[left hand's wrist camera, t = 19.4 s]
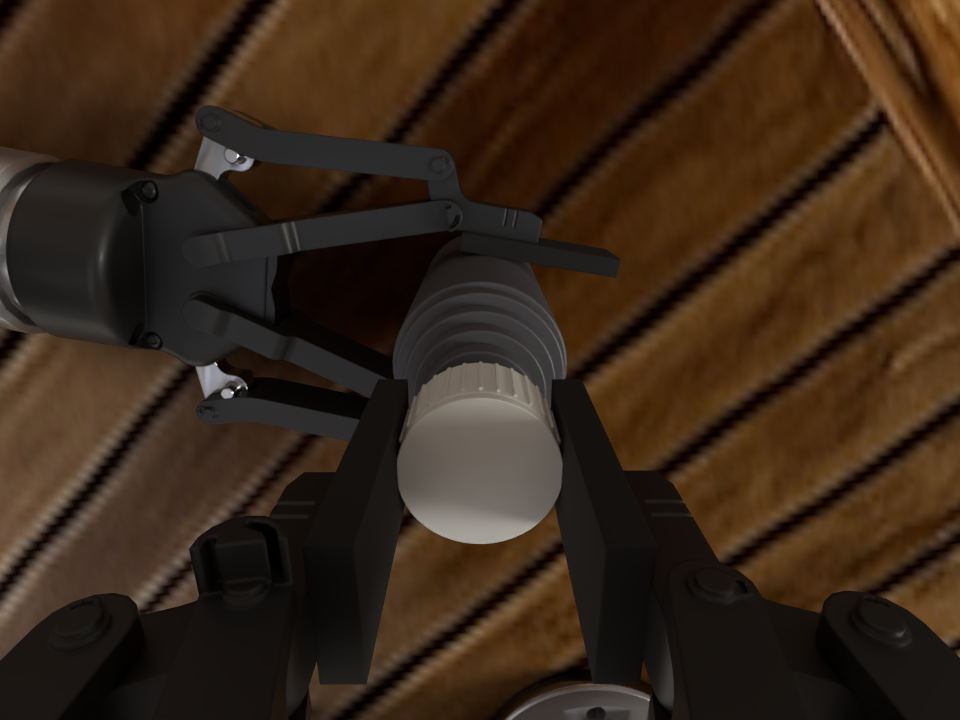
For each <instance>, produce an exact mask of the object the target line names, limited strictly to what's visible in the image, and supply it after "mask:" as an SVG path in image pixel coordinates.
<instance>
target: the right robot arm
mask: <svg viewBox="0 0 960 720" xmlns="http://www.w3.org/2000/svg"><path fill="white" fill-rule="evenodd" d="M195 122H196V125H197V129H198V130H199V131H200V133H201V134H202V135H203V136H204V137H203V141H202V144H201V147H200V151H199V154H198V158H197V161H196V164H195V168H194V169H189V170H184V171H181V172H179V173H176V174H174V175H163V174H157V173H151V172H146V171H140V170H134V169H128V168H123V167H117V166H111V165H105V164H99V163H94V162H88V161H82V160H73V159H72V160H61V159H59V158H57V157H55V156H52V155H48V154H42V153H36V152H30V151H24V150H18V149H12V148H6V147H0V328H3V329H9V330H15V331H20V332H26V333H49V334H51V335H54V336H57V337H63V338H69V339H76V340H82V341H88V342H95V343H101V344H107V345H114V346H120V347H127V348H135V349H149V350H160V351H164V352H166V353H169V354H171V355H173V356H175V357H176V358H178V359H179V360H181V361H182V362H184V363H186V364H188V365H191V366H195V367H196V371H197V374H198V377H199V380H200V383H201V387H202V390H203V393H204V396H205V399H204V400H203V401H202V402H201V403H200V404H199V405H198V407H197V409H196V410H197V415H198V417H199V419H200V420H202V421H203V422H204V423H207V424H211V425H215V424H224V423H234V422H243V421H253V422H258V423H263V424H267V425H272V426H277V427H282V428H287V429H292V430H297V431H301V432H306V433H311V434H316V435H321V436H326V437H331V438H335V439H340V440H345V441H350V440H351V438H352V436H353V433H354V431H355V429H356V427H357V425H358V423H359V420H360V418H361V416H362V414H363V412H364V409H365V407H366V405H367V403H368V401H369V398H370V396H371V394H372V392H373V390H374V388H375V385H376V383H377V381H378V379H394V374H393V362H392V361H393V359H392V358H390V357H388V356H385V355H383V354H381V353H379V352H377V351H375V350H373V349H370V348H368V347H366V346H364V345H362V344H360V343H358V342H355V341H353V340H351V339H349V338H347V337H345V336H343V335H340V334H338V333H336V332H334V331H332V330H330V329H328V328H325V327H323V326H321V325H319V324H317V323H315V322H313V321H312V320H311V319H310V317H309V316H308V315H306V314H304V313H302V312H300V311H298V310H296V309H294V308H292V307H290V294H289V289H288V284H287V276H288V273H289V270H290V267H291V265H292V255H293V253H295V252H299V251H305V250H312V249H319V248H326V247H334V246H341V245H348V244H355V243H362V242H370V241H377V240H384V239H391V238H398V237H406V236H413V235H420V234H427V233H434V232H442V231H449V233H450V232H453V231H455V230H457V231H463V232H462V239H461V245H460V251H462V252H468V253H474V254H479V255H485V256H491V257H497V258H503V259H509V260H515V261H520V262H526V263H532V264H538V265H544V266H550V267H556V268H562V269H567V270H573V271H579V272H585V273H591V274H597V275H603V276H608V277H614V278H616V276H617V272H618V268H619V264H620V259H619V258H618V257H616V256H615V255H613V254H612V253H611V252H609V251H608V250H606V249H601V248H595V247H589V246H584V245H578V244H572V243H566V242H560V241H555V240H549V239H543V238H539V234H540V229H541V224H542V219H541V218H540V217H539V216H537V215H536V214H534V213H533V212H531V211H530V210H527V209H521V208H515V207H510V206H504V205H498V204H493V203H487V202H481V201H476V200H472V199H470V198H468V197H467V196H466V195H465V194H464V193H463V191H462V190H461V187H460V183H459V178H458V172H457V167H456V160H455V158H454V156H453V155H452V154H451V153H450V152H449V151H446V150H444V149H438V148H430V147H421V146H412V145H403V144H394V143H385V142H376V141H367V140H358V139H350V138H341V137H332V136H323V135H314V134H305V133H296V132H287V131H279V130H277V129H275V128H273V127H271V126H269V125H267V124H265V123H263V122H261V121H259V120H257V119H255V118H253V117H251V116H249V115H247V114H245V113H243V112H240V111H236V110H231V109H226V108H221V107H216V106H211V105H209V106H204V107H202V108H201V109H199V111H198V112H197V114H196V121H195ZM262 161H263V162H269V163H275V164H284V165H294V166H303V167H312V168H321V169H330V170H339V171H348V172H357V173H366V174H375V175H384V176H393V177H402V178H411V179H420V180H427V183H428V188H429V193H430V198H429V199H422V200H415V201H408V202H401V203H394V204H386V205H379V206H372V207H365V208H358V209H351V210H344V211H337V212H330V213H323V214H316V215H305V216H297V217H290V218H283V219H276V220H271V219H270V218H269V217H268V216H267V215H266V214H265V213H264V212H262V211H261V210H260V209H259V208H258V207H257V206H256V205H255V204H254V203H253V202H252V201H251V200H250V199H248V198H247V197H246V196H245V195H244V194H243V193H242V192H241V191H240V190H239V189H238V188H237V187H235V186H234V185H233V184H232V183H231V182H230V181H229V180H228V177H229V175H230V174H231V173H232V172H233V171H253V170H255V169H257V168H258V167H259V166H260V164H261V163H262ZM244 348H248V349H250V350H252V351H254V352H257V353H259V354H261V355H263V356H266V357H268V358H270V359H273V360H286V361H289V362H292V363H294V364H296V365H298V366H300V367H303V368H305V369H307V370H309V371H312V372H314V373H316V374H318V375H320V376H323V377H325V378H327V379H329V380H331V381H334V382H336V383H338V384H340V385H343V386H345V387H347V388H349V389H351V390H354V391H356V392H358V393H360V394H362V395H365V396H367V397H369V398H366V397H362V396H357V395H352V394H348V393H343V392H338V391H333V390H329V389H324V388H319V387H315V386H310V385H305V384H301V383H296V382H291V381H286V380H282V379H276V378H265V377H259V378H253V377H254V374H253V372H252V371H251V370H249V369H241V368H235V367H233V366H231V365H230V364H229V363H228V362H227V361H226V359H225V358H226V357H228V356H230V355H232V354H234V353H236V352H238V351H240V350H242V349H244Z"/></svg>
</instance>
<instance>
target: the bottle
mask: <svg viewBox="0 0 960 720" xmlns="http://www.w3.org/2000/svg"><path fill="white" fill-rule="evenodd" d="M461 239H462V235H461V236H459V237H456V238H454V239H453V240H451V241H449V242H448V243H447V244H445V245H444V246H443V247H442V248H441V249H440V250H439V251H438V253H437V254H436V255H435V257H434V258H433V260H432V262H431V264H430V266H429V268H428V270H427V273H426V275H425V277H424V279H423V281H422V283H421V286H420V288H419V290H418V292H417V294H416V296H415V298H414V301H413V303H412V305H411V307H410V309H409V311H408V313H407V316H406V318H405V320H404V322H403V324H402V326H401V328H400V331H399V333H398V336H397V338H396V342H395V346H394V350H393V361H392V362H393V374H394V379H408V396H409V409H410V407H411V404H412V400H413V397H414V396H417V395H418V393H419V392H420V391H421V388H422V385H423V384H425V385H426V384H427V383H428V382H429V381H430V380H431V379H433V376H434V375H438V374H440V373H442V372H444V371H446V370H447V368H449V367H450V368H453V367H456V366H459V365H463V363H466V364H469V363H479V362H482V363H490V364H495V363H497V364H499V365H500V366H504V367H507V368H509V369H510V368H513V369H514V371H516V372H518V373H519V374H521V375H523V376H527V377H528V380H529V381H531V382H532V383H533V384H534V385H535V386H536V385H537V386H538V387H539V390H540V393H541V394H542V395H543V397H544V398H545V397H546V398H547V400H548V404H549V407H550V409H551V388H552V379H565V378H566V372H567V354H566V348H565V343H564V340H563V337H562V334H561V332H560V329H559V327H558V325H557V323H556V321H555V318H554V316H553V314H552V312H551V310H550V308H549V306H548V303H547V301H546V299H545V297H544V295H543V293H542V290H541V288H540V286H539V284H538V282H537V280H536V278H535V275H534V273H533V271H532V269H531V267H530V265H529V263H526V262H520V261H515V260H509V259H503V258H497V257H491V256H485V255H479V254H474V253H468V252H462V251H460V245H461Z"/></svg>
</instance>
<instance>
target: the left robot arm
mask: <svg viewBox="0 0 960 720" xmlns="http://www.w3.org/2000/svg"><path fill="white" fill-rule="evenodd" d="M408 409H409V396H408V379H378V381H377V383H376V385H375V388H374V390H373V392H372V394H371V396H370V398H369V401H368V403H367V405H366V407H365V409H364V412H363V414H362V416H361V418H360V420H359V423H358V425H357V427H356V429H355V431H354V433H353V436H352V438H351V440H350V442H349V444H348V447H347V449H346V451H345V453H344V455H343V458H342V460H341V462H340V464H339V466H338V468H337V471H336V472H304V473H303V474H302V475H300V476H299V477H298V478H297V479H295V480H294V481H293V482H291V483H290V484H289V485H287V486H286V488H285V490H284V491H283V493H282V495H281V496H280V498H279V500H278V502H277V505H275V507H274V508H273V510H272V512H271V513H270V515H269V517H266V516H245V517H240V518H235V519H231V520H228V521H225V522H223V523H221V524H218V525H216V526H214V527H212V528H210V529H209V530H208V531H206V532H205V533H203V534H202V535H201V536H199V537H198V538H197V539H196V541H195V542H194V543H193V545H192V546H191V547H190V549H189V550H190V555H191V560H192V564H193V569H194V573H195V578H196V583H197V587H198V592H199V598H198V600H197V601H195V602H192V603H188V604H185V605H182V606H179V607H174V608H170V609H166V610H162V611H157V612H153V613H149V614H144V615H140V616H139V612H138V609H137V605H136V603H135V602H134V601H133V600H132V599H131V598H130V597H129V596H125V595H120V594H116V593H109V594H99V595H93V596H90V597H87V598H84V599H81V600H77V601H74V602H72V603H70V604H68V605H66V606H65V607H63V608H61V609H59V610H57V611H55V612H53V613H52V614H50V615H49V616H48V617H47V618H45V619H44V620H43V621H42V622H40V623H39V624H38V625H36V626H35V627H34V628H33V629H32V630H31V631H30V632H29V633H28V634H27V635H26V636H25V637H24V638H23V639H22V640H21V641H20V642H19V643H18V644H17V645H16V646H15V647H14V648H13V649H12V650H11V651H10V652H9V653H8V654H7V655H6V656H5V657H4V658H3V659H2V660H1V661H0V720H311V711H312V710H311V702H310V695H309V688H308V687H309V684H310V680H311V677H312V674H313V671H314V668H315V665H316V662H317V666H318V673H319V681H320V684H366V683H367V679H368V674H369V670H370V665H371V660H372V656H373V651H374V646H375V642H376V637H377V632H378V628H379V623H380V618H381V614H382V609H383V604H384V600H385V595H386V590H387V586H388V581H389V577H390V572H391V567H392V563H393V558H394V553H395V549H396V544H397V539H398V535H399V530H400V525H401V521H402V516H403V511H404V507H405V503H404V501H403V499H402V497H401V495H400V492H399V488H398V473H397V456H398V452H399V449H400V445H401V443H399V438H400V435H401V432H402V428H403V425H404V421H405V418H406V414H407V411H408ZM551 410H552V412H553V416H554V419H555V423H556V426H557V430H558V433H559V437H560V441H561V444H560V445H559V447H560V450H561V454H562V459H563V466H562V484H561V490H560V493H559V495H558V498H557V500H556V502H555V503H554V504H555V508H556V513H557V518H558V522H559V527H560V532H561V536H562V541H563V546H564V550H565V555H566V560H567V564H568V569H569V574H570V578H571V583H572V587H573V592H574V597H575V601H576V606H577V611H578V615H579V620H580V625H581V629H582V634H583V639H584V643H585V648H586V653H587V657H588V662H589V667H590V671H591V672H582V673H573V674H567V675H562V676H558V677H555V678H551V679H548V680H545V681H543V682H540V683H538V684H536V685H534V686H531V687H530V688H528V689H526V690H524V691H523V692H521V693H520V694H518V695H517V696H516V697H514V698H513V699H512V700H511V701H510V702H508V704H507V705H506V706H505V707H504V708H503V709H502V710H501V711H500V713H499V714H498V715H497V717H496V719H495V720H960V657H958V656H957V655H956V654H955V653H954V652H953V651H952V650H951V649H950V648H949V647H948V646H947V645H946V644H945V643H944V642H943V641H942V640H941V639H940V638H939V637H938V636H937V635H936V634H935V633H934V632H933V631H932V630H931V629H930V628H929V627H928V626H927V625H926V624H925V623H923V622H922V621H921V620H920V619H918V618H917V617H916V616H914V615H913V614H912V613H911V612H909V611H908V610H906V609H904V608H903V607H901V606H899V605H897V604H895V603H893V602H891V601H889V600H887V599H884V598H881V597H878V596H875V595H872V594H869V593H865V592H855V591H842V592H838V593H833V594H831V595H830V596H829V597H828V598H827V599H826V600H825V601H824V603H823V607H822V611H821V613H817V612H813V611H808V610H804V609H800V608H795V607H791V606H787V605H782V604H779V603H776V602H772V601H769V600H766V599H764V598H762V597H761V594H760V593H759V591H758V590H757V588H756V587H755V585H754V584H753V582H752V581H750V580H749V579H748V578H747V577H746V576H744V575H743V574H742V573H741V572H739V571H738V570H736V569H733V568H731V567H729V566H727V565H725V564H723V563H720V562H719V561H718V559H717V557H716V556H715V554H714V552H713V551H712V549H711V547H710V546H709V544H708V542H707V540H706V539H705V537H704V535H703V534H702V532H701V530H700V529H699V527H698V525H697V524H696V522H695V520H694V519H693V517H691V513H690V512H689V510H688V508H687V507H686V505H685V503H683V500H682V498H681V497H680V495H679V493H678V491H677V490H676V488H675V486H674V485H673V484H672V483H671V482H670V481H668V480H667V479H666V478H664V477H663V476H662V475H660V474H659V473H658V472H656V471H623V469H622V467H621V465H620V463H619V461H618V458H617V456H616V454H615V452H614V450H613V447H612V445H611V443H610V441H609V439H608V436H607V434H606V432H605V430H604V428H603V426H602V423H601V421H600V419H599V417H598V415H597V412H596V410H595V408H594V406H593V404H592V401H591V399H590V397H589V395H588V393H587V391H586V388H585V386H584V384H583V382H582V380H581V379H552V388H551V409H550V411H551ZM643 660H644V663H645V667H646V670H647V673H648V676H649V679H650V682H651V685H652V686H651V685H649V684H647V683H644V682H642V681H640V678H641V670H642V663H643Z"/></svg>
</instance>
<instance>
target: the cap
mask: <svg viewBox="0 0 960 720" xmlns="http://www.w3.org/2000/svg"><path fill="white" fill-rule="evenodd" d="M399 443H401V445H400V449H399V452H398V456H397V473H398V488H399V492H400V495H401V497H402V499H403V501H404V503H405V505H406V506H407V508H408V509H409V510H410V512H411V513H412V514H413V515H414V516H415V518H416V519H417V520H418V521H420V522H421V523H422V524H423V525H424V526H425V527H427V528H429V529H430V530H432V531H433V532H435V533H437V534H439V535H441V536H443V537H446V538H449V539H451V540H455V541H459V542H464V543H472V544H487V543H495V542H501V541H505V540H508V539H511V538H514V537H516V536H518V535H521V534H523V533H524V532H526V531H528V530H530V529H531V528H533V527H534V526H535V525H536V524H538V523H539V522H540V521H541V520H542V519H543V518H544V517H545V516H546V515H547V514H548V512H549V511H550V510H551V508H552V507H553V505H554V503H555V502H556V500H557V498H558V495H559V493H560V490H561V484H562V466H563V459H562V454H561V450H560V447H559V445H560V444H561V441H560V437H559V433H558V430H557V426H556V423H555V419H554V416H553V412H552V410H551V411H550V407H549V404H548V400H547V398H546V397H545V398H544V397H543V395H542V394H541V393H540V390H539V387H538V386H537V385H536V386H535V385H534V384H533V383H532V382H531V381H529V380H528V377H527V376H523V375H521V374H519V373H518V372H516V371H514V369H513V368H510V369H509V368H507V367H504V366H500V365H499V364H497V363H495V364H490V363H482V362H479V363H469V364H466V363H463V365H459V366H456V367H453V368H450V367H449V368H447V370H446V371H444V372H442V373H440V374H438V375H434V376H433V379H431V380H430V381H429V382H428V383H427V384H426V385H425V384H423V385H422V388H421V391H420V392H419V393H418V395H417V396H414V397H413V400H412V404H411V407H410V409H408V411H407V414H406V418H405V421H404V425H403V428H402V432H401V435H400V438H399Z"/></svg>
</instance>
